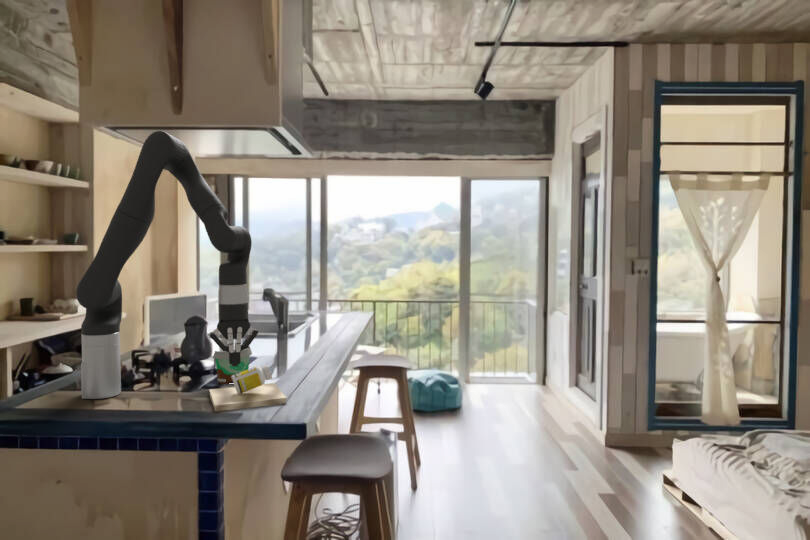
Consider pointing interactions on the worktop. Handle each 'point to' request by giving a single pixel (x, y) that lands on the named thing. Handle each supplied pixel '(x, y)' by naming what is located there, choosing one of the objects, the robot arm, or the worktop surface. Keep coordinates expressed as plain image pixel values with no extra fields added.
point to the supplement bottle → (251, 378)
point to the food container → (226, 369)
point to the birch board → (246, 397)
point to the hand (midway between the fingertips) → (234, 365)
